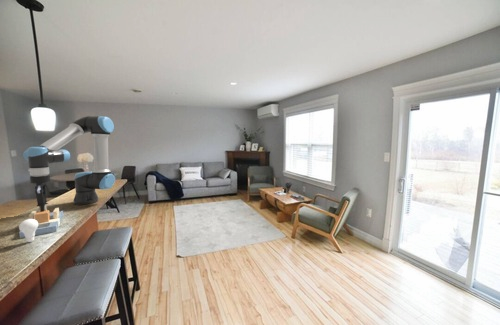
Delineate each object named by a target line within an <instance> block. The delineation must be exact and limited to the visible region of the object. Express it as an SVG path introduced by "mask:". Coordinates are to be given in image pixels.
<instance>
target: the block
mask: <svg viewBox="0 0 500 325" xmlns="http://www.w3.org/2000/svg"><path fill="white" fill-rule="evenodd" d="M50 213H51V212H50V210H49V209H47V211H43V212H41V211H40V212H39V211H36V214H35V220H36V221H37V222H38V223H43V222H49V220H50Z"/></svg>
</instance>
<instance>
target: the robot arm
mask: <svg viewBox="0 0 500 325" xmlns="http://www.w3.org/2000/svg"><path fill="white" fill-rule="evenodd" d="M114 128H115V125H114V122H113V120H112V119H111V118H110V117H108V116H104V115H103V116H102V115H99V116H96V115H94V116H93V115H88V116H87V115H86V116H82V117H81V118H79V119H76V120H75V121H73V122H71V123H70V124H68V127H66V128H64V129H63V130H62V131H60V132H59V133H57V134H55V135H53V137H51V138H49V139H48V140H46V141H44V142H43V143H41V144H40V145H39V146H30V147H28V148H27V149H26V150H25V151H24V152H23V154H22V156H23V159H24V160H25V161H27V162H28V169H27V172H29V182H30V183H31V184H36V186H34V189H35V190H34V192H35V196H36V197H35V198H36V202H37V205H36V207H38V212H40V211H41V212H43V211H47V210H48V209H47V205H48V204H49V202H47V186H48V185H47V184H45V183H49V182H50V181H51V178H50V165H49V164H56V163H65V162H68V161H69V160H70V159H71V153H70V151H68V150H67V149H62V147H64V146H66V145H67V144H69V143H70V142H71V141H73V140H74V139H76V138H77V137H78V136H83V135H84V134H86V133H90V134H91V136H92V137H93V155H94V156H93V159H94V160H93V161H94V162H93V163H94V165H93V166H94V169H93V170H91V171H82V172H77V173H75V175H74V188H75V195H74V198H73V200H72V201H73V202H72V203H73V205H75V204H76V206H78V205H79V206H82V204H84V205H89V204H90V203H91V204H94V202H95V203H97V202H99V195H98V194H97V191H96V190H101V191H102V190H109V189H111V188H112V187H113V186H114V184H115V182H116V177H115V175H114V174H113V173H112V171H111V169H109V167H110V166H109V137H110V136H111V133H112V132H114ZM91 204H90V205H91Z"/></svg>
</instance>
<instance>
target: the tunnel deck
mask: <svg viewBox="0 0 500 325" xmlns="http://www.w3.org/2000/svg"><path fill="white" fill-rule="evenodd" d="M36 212H37V210H32V211H31V212H30V214H29V215H28V219H35V214H36ZM63 217H64V210H61V211H60V207H55V208H54V209H53V211H52V212H50V219H56V218H60V223H61V222H62V219H63ZM59 226H60V224H58V221H56V222H51V223H50V225H49V226H48V227H42V228H37V229H36V231H35V236H40V235H46V234H51V233H56V232H57V231H58V229H59ZM18 234H19V239H23V238H24V239H25V235H24V233H23V232H22V231H21V230H19V232H18Z"/></svg>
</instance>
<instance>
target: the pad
mask: <svg viewBox="0 0 500 325" xmlns="http://www.w3.org/2000/svg"><path fill="white" fill-rule="evenodd" d="M56 221H58V224H59V225H60V223H61V222H60V218H56V219H50V220H49V222H43V223H38V227H37V228H42V227H48V226H49V225H50V223H51V222H56Z"/></svg>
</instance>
